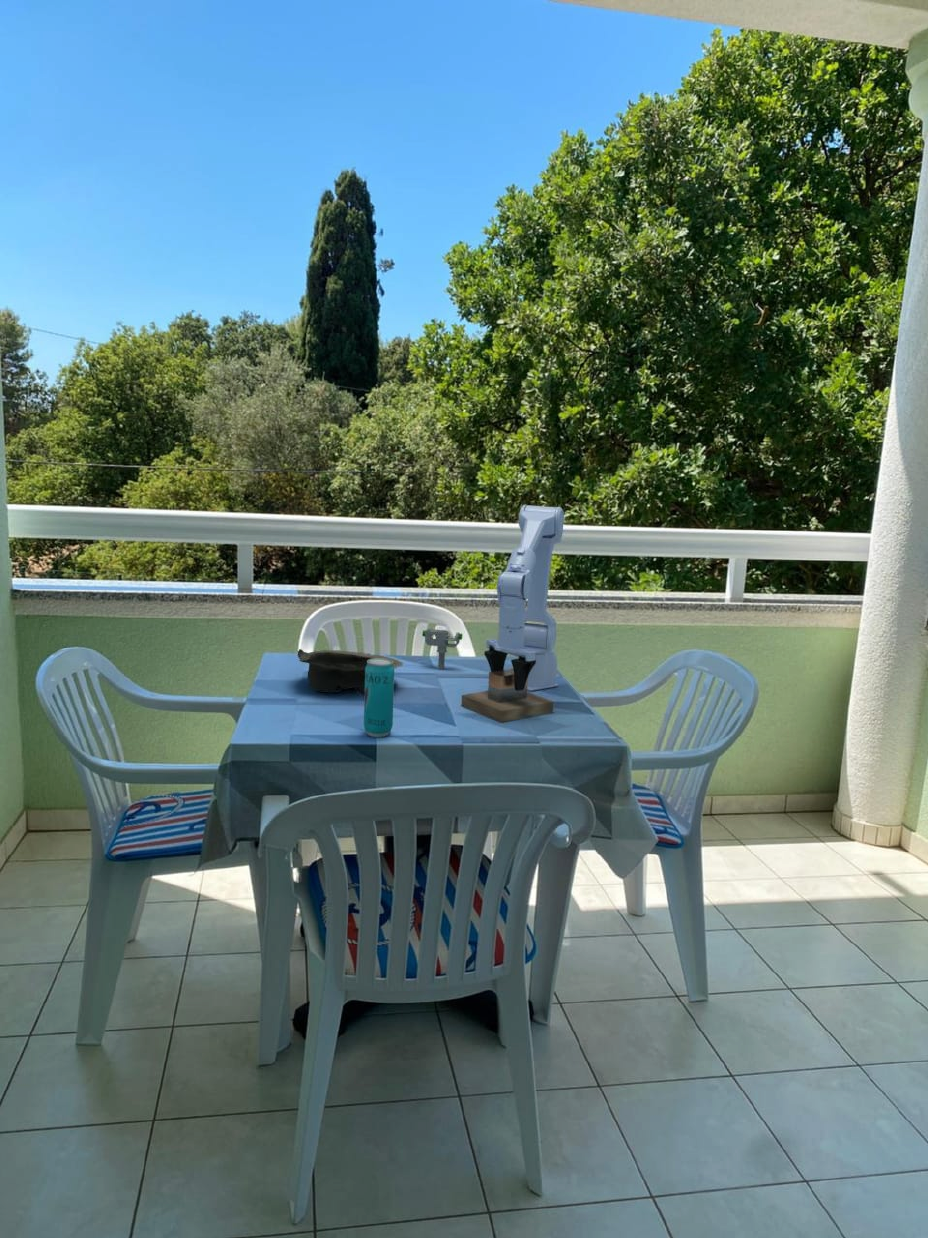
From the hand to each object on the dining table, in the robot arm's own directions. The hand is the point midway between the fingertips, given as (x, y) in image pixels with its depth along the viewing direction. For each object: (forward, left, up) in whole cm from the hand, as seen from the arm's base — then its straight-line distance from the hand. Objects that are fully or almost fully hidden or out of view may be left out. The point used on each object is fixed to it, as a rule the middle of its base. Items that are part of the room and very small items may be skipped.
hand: (508, 685), depth 202 cm
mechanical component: (-8, -36, -6) cm, 37 cm away
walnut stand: (0, 0, -5) cm, 5 cm away
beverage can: (+34, 0, -6) cm, 34 cm away
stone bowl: (+21, -33, -6) cm, 40 cm away
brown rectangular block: (0, 0, -3) cm, 3 cm away
